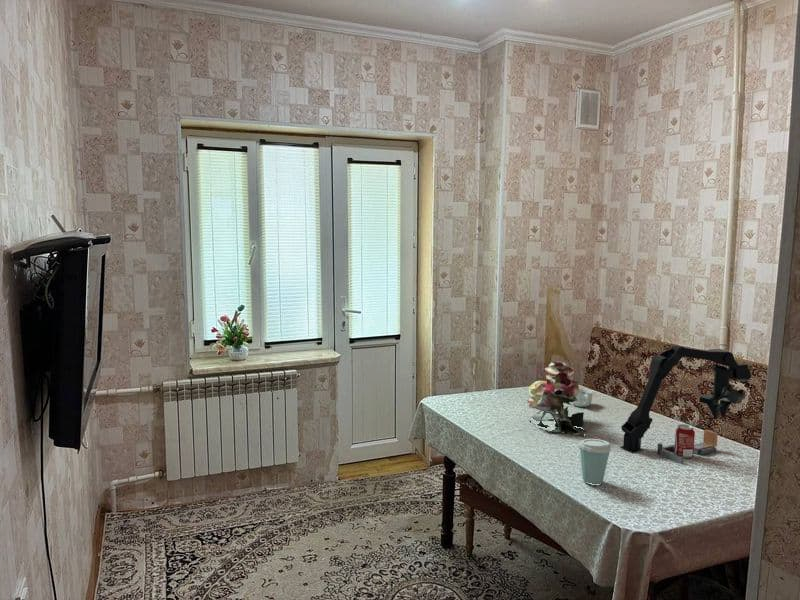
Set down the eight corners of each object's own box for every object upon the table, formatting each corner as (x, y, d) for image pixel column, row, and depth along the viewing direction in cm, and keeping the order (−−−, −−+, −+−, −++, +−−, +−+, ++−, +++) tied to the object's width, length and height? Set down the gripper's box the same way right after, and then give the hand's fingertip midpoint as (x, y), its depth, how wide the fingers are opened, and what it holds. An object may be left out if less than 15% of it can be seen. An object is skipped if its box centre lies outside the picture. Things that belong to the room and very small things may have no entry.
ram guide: (702, 455, 229) (702, 450, 228) (689, 450, 234) (689, 445, 234) (715, 452, 232) (716, 447, 232) (702, 447, 237) (702, 442, 237)
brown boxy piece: (699, 454, 229) (700, 437, 228) (688, 450, 233) (689, 433, 232) (716, 450, 233) (717, 433, 232) (705, 446, 237) (706, 429, 236)
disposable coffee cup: (571, 478, 207) (572, 438, 205) (594, 473, 211) (596, 434, 209) (592, 490, 197) (593, 448, 195) (616, 485, 201) (618, 443, 200)
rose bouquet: (577, 416, 278) (579, 355, 274) (591, 437, 249) (594, 369, 245) (523, 414, 280) (524, 354, 277) (530, 435, 251) (532, 367, 248)
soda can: (695, 459, 224) (697, 429, 223) (676, 458, 226) (678, 428, 224) (690, 453, 231) (692, 424, 229) (672, 452, 232) (673, 423, 231)
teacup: (568, 402, 301) (569, 387, 301) (590, 402, 300) (590, 387, 299) (572, 410, 288) (573, 394, 287) (595, 411, 286) (596, 395, 285)
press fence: (680, 463, 220) (681, 452, 220) (657, 454, 230) (657, 443, 229) (702, 458, 226) (703, 447, 225) (679, 449, 235) (679, 438, 235)
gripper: (725, 388, 222) (722, 427, 224) (756, 382, 231) (753, 420, 232) (699, 381, 232) (696, 419, 234) (729, 376, 240) (727, 413, 242)
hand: (719, 418), depth 235 cm, fingers open, 4 cm apart
